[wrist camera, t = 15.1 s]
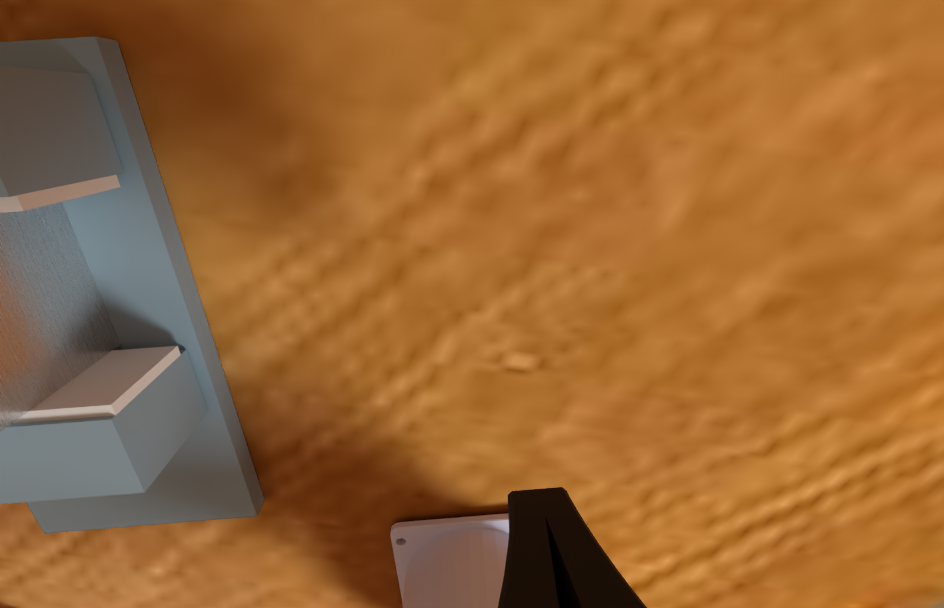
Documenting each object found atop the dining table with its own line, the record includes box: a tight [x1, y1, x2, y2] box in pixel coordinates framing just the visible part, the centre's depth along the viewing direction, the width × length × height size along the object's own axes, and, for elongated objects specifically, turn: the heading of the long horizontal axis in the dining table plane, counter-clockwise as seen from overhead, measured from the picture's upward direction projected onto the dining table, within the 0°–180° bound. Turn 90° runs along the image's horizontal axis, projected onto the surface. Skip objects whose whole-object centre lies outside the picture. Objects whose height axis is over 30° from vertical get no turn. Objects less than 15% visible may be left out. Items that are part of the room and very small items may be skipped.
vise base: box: [0, 36, 264, 533], centre depth 16 cm, size 20×10×6 cm, turn 3°
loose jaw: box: [0, 346, 208, 504], centre depth 17 cm, size 3×9×4 cm, turn 93°
